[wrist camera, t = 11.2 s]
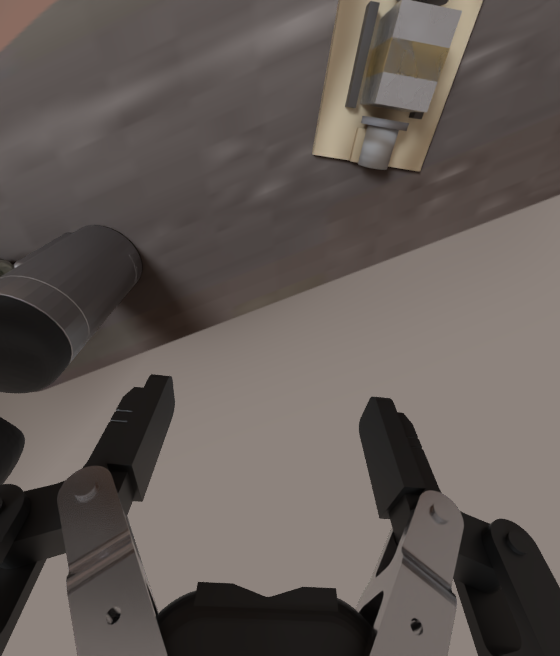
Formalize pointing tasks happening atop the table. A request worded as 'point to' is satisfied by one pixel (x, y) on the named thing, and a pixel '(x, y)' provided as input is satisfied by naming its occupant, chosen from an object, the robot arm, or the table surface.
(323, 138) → the beige flat board
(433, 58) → the block
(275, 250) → the table surface
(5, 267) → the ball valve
